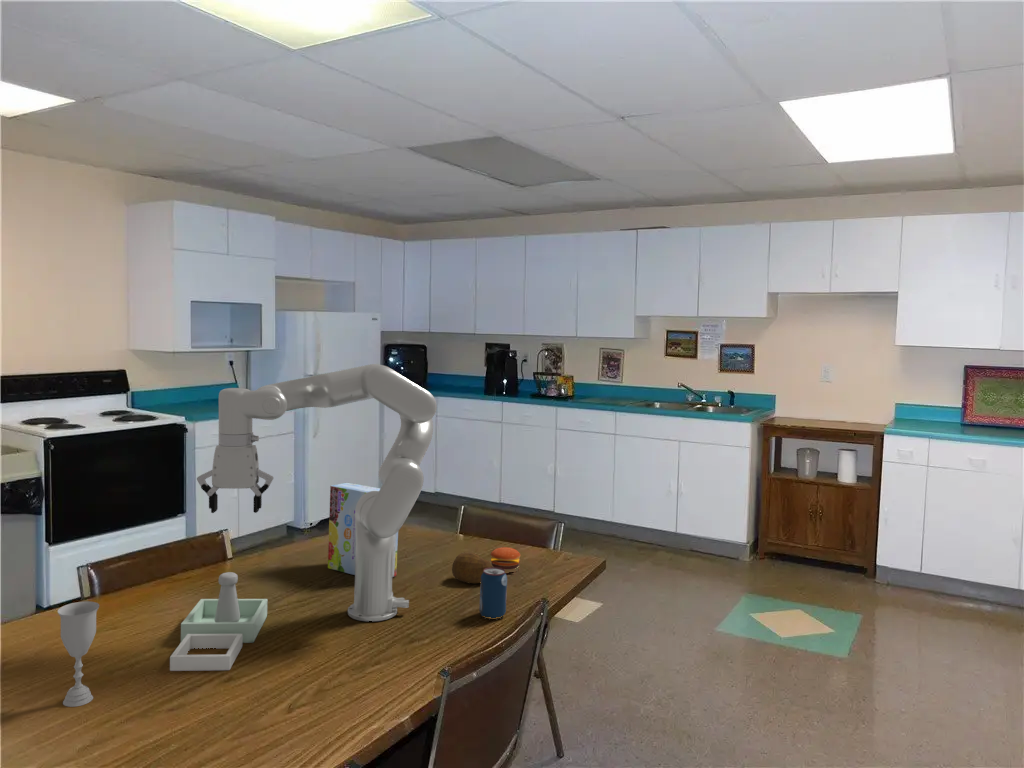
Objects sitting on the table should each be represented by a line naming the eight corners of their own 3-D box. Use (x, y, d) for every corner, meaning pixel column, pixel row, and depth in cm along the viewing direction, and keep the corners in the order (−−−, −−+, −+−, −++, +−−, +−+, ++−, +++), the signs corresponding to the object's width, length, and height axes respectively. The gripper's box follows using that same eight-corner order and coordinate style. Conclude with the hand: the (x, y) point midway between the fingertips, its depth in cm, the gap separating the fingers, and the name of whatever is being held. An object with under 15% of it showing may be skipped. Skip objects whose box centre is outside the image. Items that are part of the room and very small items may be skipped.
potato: (481, 590, 214) (482, 560, 214) (445, 583, 219) (446, 553, 219) (494, 582, 222) (495, 553, 222) (459, 575, 227) (460, 546, 226)
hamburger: (490, 563, 240) (491, 543, 239) (520, 565, 240) (521, 545, 239) (488, 573, 230) (489, 551, 230) (519, 574, 230) (521, 553, 230)
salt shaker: (231, 633, 176) (232, 578, 175) (209, 630, 177) (210, 576, 176) (244, 623, 182) (245, 571, 181) (223, 621, 183) (224, 568, 182)
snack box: (398, 576, 223) (402, 491, 222) (378, 583, 216) (381, 495, 214) (346, 561, 235) (348, 480, 233) (325, 568, 228) (328, 484, 226)
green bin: (267, 616, 188) (267, 598, 188) (253, 642, 172) (253, 623, 172) (200, 616, 186) (201, 598, 186) (180, 643, 170) (180, 624, 170)
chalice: (69, 690, 146) (69, 601, 145) (105, 691, 147) (106, 601, 146) (49, 709, 139) (49, 615, 138) (87, 709, 140) (88, 615, 139)
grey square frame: (242, 646, 170) (242, 633, 170) (229, 670, 158) (229, 656, 158) (187, 646, 169) (187, 633, 168) (169, 670, 157) (170, 656, 156)
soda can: (511, 616, 196) (513, 571, 195) (492, 622, 191) (494, 576, 190) (492, 608, 200) (494, 564, 200) (473, 614, 195) (475, 569, 195)
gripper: (276, 438, 182) (275, 507, 183) (201, 437, 180) (201, 507, 181) (270, 443, 175) (270, 515, 176) (192, 442, 172) (192, 515, 174)
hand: (235, 511), depth 178 cm, fingers open, 9 cm apart
